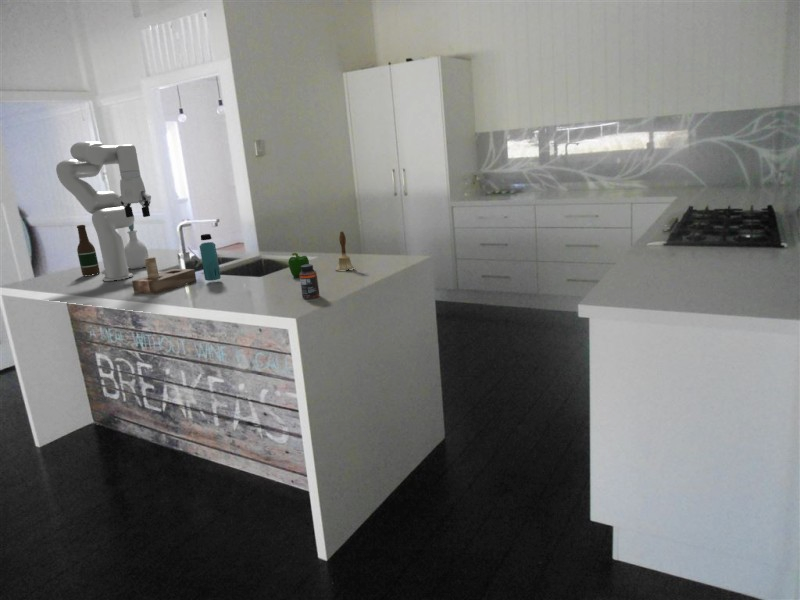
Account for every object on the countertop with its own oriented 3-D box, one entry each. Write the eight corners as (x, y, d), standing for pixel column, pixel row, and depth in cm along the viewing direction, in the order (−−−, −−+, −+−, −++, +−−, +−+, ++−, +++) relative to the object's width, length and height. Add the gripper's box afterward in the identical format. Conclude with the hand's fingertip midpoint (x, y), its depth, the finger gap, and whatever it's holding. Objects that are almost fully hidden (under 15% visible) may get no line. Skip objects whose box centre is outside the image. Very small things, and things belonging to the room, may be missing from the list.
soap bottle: (146, 264, 307) (138, 219, 301) (151, 267, 299) (142, 221, 293) (126, 268, 301) (117, 222, 296) (130, 270, 294) (121, 223, 288)
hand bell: (356, 266, 256) (352, 229, 252) (354, 270, 248) (350, 232, 244) (336, 268, 257) (332, 230, 253) (334, 272, 249) (329, 233, 245)
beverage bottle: (217, 284, 245) (209, 235, 240) (202, 284, 246) (194, 235, 241) (224, 280, 251) (217, 232, 246) (210, 280, 252) (202, 233, 247)
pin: (148, 288, 242) (142, 259, 239) (155, 286, 245) (150, 257, 242) (155, 288, 240) (149, 259, 237) (163, 286, 243) (157, 257, 240)
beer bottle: (89, 276, 286) (78, 226, 280) (78, 276, 289) (67, 226, 283) (103, 273, 292) (93, 223, 286) (93, 272, 296) (82, 224, 290)
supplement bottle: (314, 294, 213) (310, 262, 211) (322, 296, 209) (319, 264, 206) (299, 297, 210) (295, 265, 207) (307, 300, 205) (303, 267, 202)
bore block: (134, 293, 240) (131, 280, 239) (174, 280, 260) (172, 268, 258) (156, 293, 235) (154, 281, 234) (196, 280, 255) (194, 269, 253)
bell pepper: (305, 272, 252) (302, 249, 250) (313, 275, 246) (310, 251, 243) (286, 276, 248) (283, 252, 246) (294, 279, 241) (291, 254, 239)
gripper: (108, 177, 250) (116, 218, 255) (138, 175, 243) (146, 217, 248) (123, 175, 257) (130, 215, 261) (153, 173, 250) (160, 215, 254)
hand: (138, 216), depth 254 cm, fingers open, 9 cm apart
